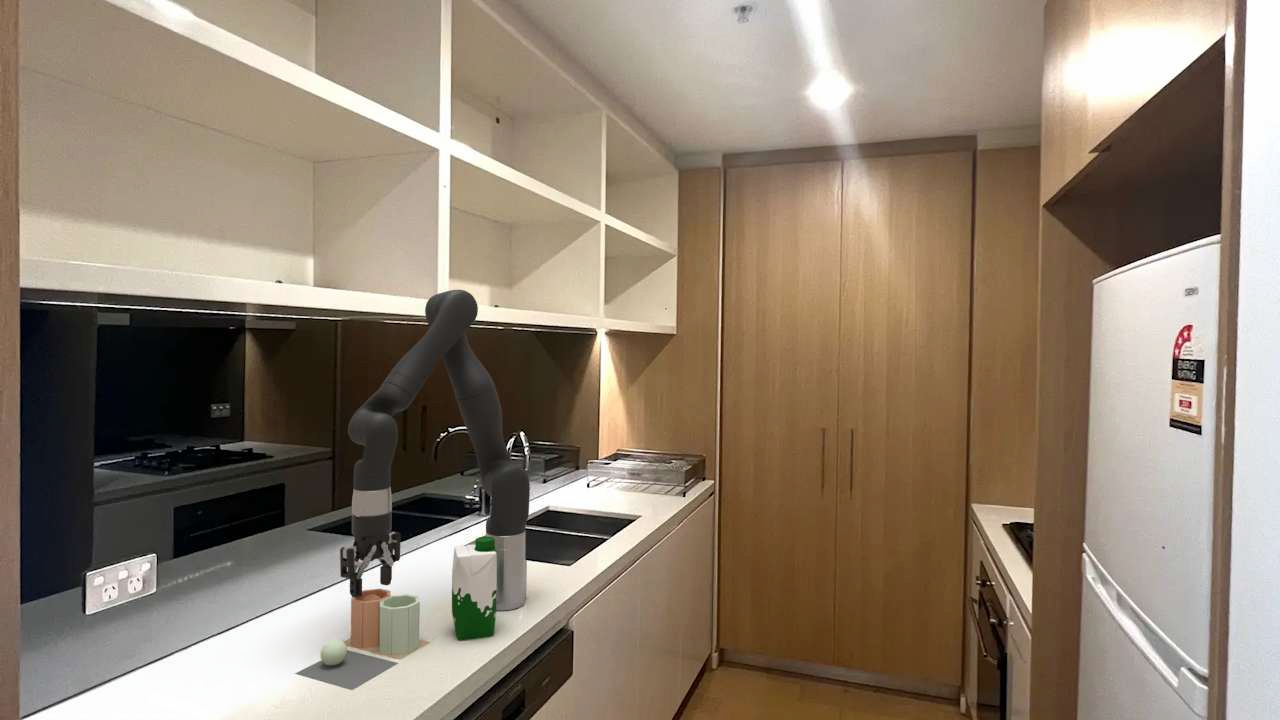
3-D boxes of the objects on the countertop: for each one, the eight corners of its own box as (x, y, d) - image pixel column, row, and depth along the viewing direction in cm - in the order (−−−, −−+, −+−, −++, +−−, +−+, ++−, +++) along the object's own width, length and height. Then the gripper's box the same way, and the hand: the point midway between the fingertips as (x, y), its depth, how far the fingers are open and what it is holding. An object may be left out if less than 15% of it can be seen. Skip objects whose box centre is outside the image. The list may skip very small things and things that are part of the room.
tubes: (370, 630, 141) (371, 585, 140) (430, 644, 134) (431, 597, 134) (338, 646, 133) (339, 599, 133) (400, 662, 126) (400, 612, 126)
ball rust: (371, 616, 138) (371, 593, 139) (387, 615, 136) (387, 592, 137) (354, 619, 134) (354, 596, 135) (370, 618, 132) (371, 595, 133)
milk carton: (498, 639, 137) (499, 543, 137) (453, 646, 134) (454, 547, 134) (492, 623, 145) (493, 532, 145) (449, 629, 142) (450, 536, 142)
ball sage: (334, 657, 127) (334, 633, 127) (352, 661, 125) (352, 638, 125) (314, 667, 123) (315, 643, 123) (332, 672, 121) (332, 647, 121)
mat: (343, 652, 131) (343, 649, 131) (398, 666, 125) (398, 663, 125) (294, 676, 120) (294, 673, 120) (352, 693, 115) (352, 689, 115)
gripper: (384, 501, 143) (383, 577, 143) (329, 515, 130) (328, 599, 130) (411, 504, 140) (410, 582, 140) (358, 519, 127) (357, 605, 127)
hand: (371, 590), depth 135 cm, fingers open, 7 cm apart
